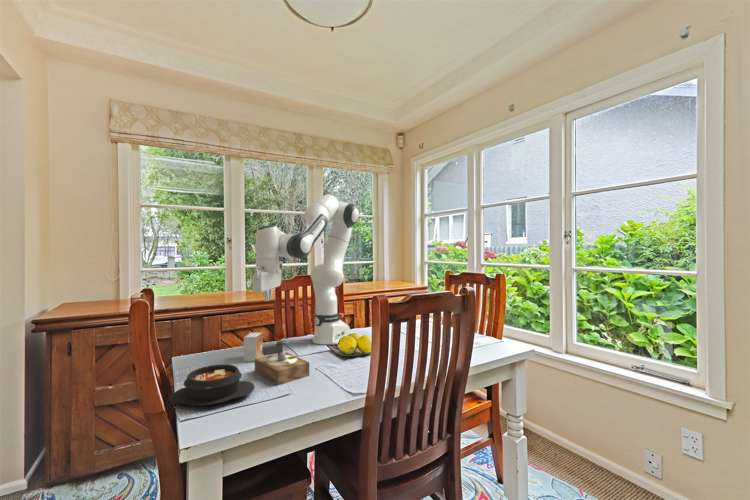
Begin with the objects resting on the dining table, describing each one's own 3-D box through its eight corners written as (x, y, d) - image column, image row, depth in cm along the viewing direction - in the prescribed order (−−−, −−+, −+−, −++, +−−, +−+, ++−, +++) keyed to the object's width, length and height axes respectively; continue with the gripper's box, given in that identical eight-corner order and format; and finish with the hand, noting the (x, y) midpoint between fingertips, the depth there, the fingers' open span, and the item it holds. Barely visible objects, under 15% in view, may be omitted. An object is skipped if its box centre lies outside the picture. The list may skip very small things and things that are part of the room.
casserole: (160, 416, 99) (160, 387, 99) (178, 390, 117) (178, 365, 117) (252, 405, 106) (252, 378, 106) (256, 382, 124) (256, 359, 124)
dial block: (284, 363, 143) (284, 350, 143) (309, 375, 130) (309, 361, 130) (254, 371, 134) (254, 358, 134) (278, 385, 121) (277, 370, 121)
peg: (295, 355, 137) (295, 338, 137) (298, 357, 134) (298, 340, 134) (261, 362, 129) (261, 343, 129) (264, 364, 127) (264, 345, 126)
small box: (256, 362, 145) (256, 337, 145) (243, 361, 145) (243, 337, 145) (263, 355, 153) (262, 332, 153) (250, 355, 153) (250, 332, 153)
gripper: (264, 267, 126) (264, 305, 127) (284, 264, 147) (284, 296, 147) (247, 267, 127) (247, 305, 127) (269, 264, 147) (269, 296, 148)
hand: (267, 300), depth 137 cm, fingers closed
